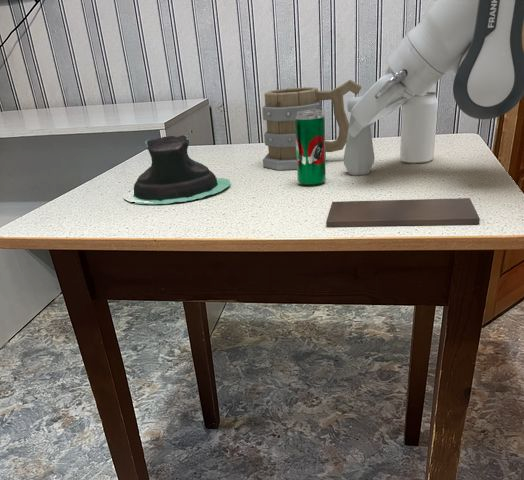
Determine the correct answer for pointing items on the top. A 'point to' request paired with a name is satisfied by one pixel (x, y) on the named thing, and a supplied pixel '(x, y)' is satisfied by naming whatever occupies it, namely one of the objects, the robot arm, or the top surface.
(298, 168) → the soda can
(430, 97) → the can
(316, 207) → the top surface
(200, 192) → the dark flared mound
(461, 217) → the dark brown board
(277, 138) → the tankard
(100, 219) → the top surface
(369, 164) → the salt shaker
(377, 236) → the top surface
